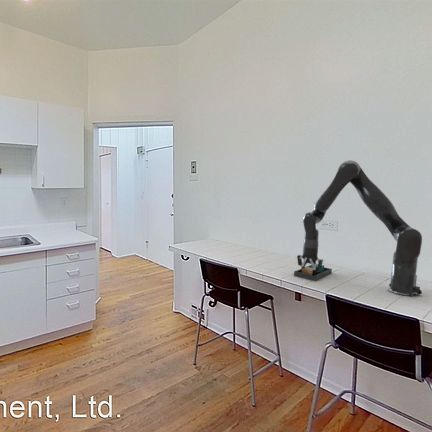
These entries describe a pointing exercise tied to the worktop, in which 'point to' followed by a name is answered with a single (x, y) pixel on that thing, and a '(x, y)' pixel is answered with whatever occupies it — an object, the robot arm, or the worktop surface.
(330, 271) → the dark grey compartment tray
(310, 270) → the tan rounded lump
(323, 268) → the teal block
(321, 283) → the worktop surface
